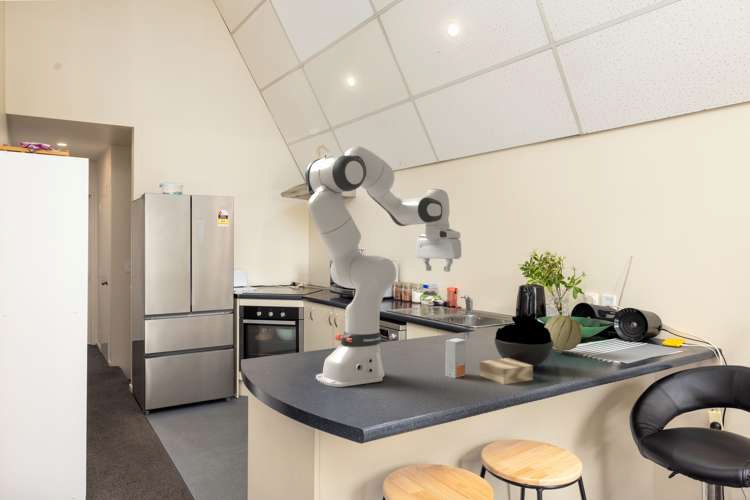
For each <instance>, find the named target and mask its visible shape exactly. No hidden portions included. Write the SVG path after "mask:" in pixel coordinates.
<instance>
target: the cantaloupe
mask: <svg viewBox="0 0 750 500" xmlns="http://www.w3.org/2000/svg"><path fill="white" fill-rule="evenodd" d="M544 327H545V328H547V329H548V330H549V332H550V334H551V340H553V347H552V348H553V349H555V350H557V351H571V350H573V349H575V348H577V347H578V345H579V344H580V343H581V340H582V335H583V334H582V333H583V331H582V328H581V325H580V324H579V322H578V321H577V320H576V319H574V318H573V317H571V314H570V313H568V314H567V315H564V314H557V315H554V316H552V317H550V318H549V320H547V322H546V323H545V325H544Z"/></svg>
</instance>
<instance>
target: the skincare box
mask: <svg viewBox="0 0 750 500" xmlns="http://www.w3.org/2000/svg"><path fill="white" fill-rule="evenodd" d="M466 345H467V341H466V339H463V338H458V337H457V338H456V337H455V338H451V339H446V340H445V353H444V355H445V362H444V363H445V365H444V367H445V368H444V372H445V373H444V374H445V377H447V378H453V379H456V378H460V377H463V376H466V370H467V368H466V361H467V360H466V358H467V357H466V356H467V355H466V351H467V349H466V348H467V347H466Z"/></svg>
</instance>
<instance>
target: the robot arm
mask: <svg viewBox="0 0 750 500" xmlns="http://www.w3.org/2000/svg"><path fill="white" fill-rule="evenodd" d="M304 177H305V183H306V185H307V190H308V193H309V195H311V197H310V198H309V199H308V202H307V206H308V210H309V214H310V216H311V218H312V221H313V223H314V225H315V227H316V228H317V231H318V232H319V234H320V237H321V238H322V240H323V242H324V243H325V245H326V248H328V251H329V254H330V256H331V260H332V261H331V262H332V263H331V266H330V270H329V274H330V278H331V280H332V282H334V284H337V285H338V286H340V287H342V288H343V287H344V288H347V289H355V293H354V296H353V299H352V300H351V302H350V303H348V305H347V306H346V307H345V316H344V317H345V321H344V322H345V326H344V327H345V328H344V329H345V331H344V332H343V334H339V333H335V335H334V340H335V341H339V342H340V345H338V347H337V348H336V349H334V350H333V351H332V353H330V354H329V355H328V356H326V357H325V359H324V363H323V366H322V367H323V369H322V373H317V374H315V380H316V379H317V380H318V381H317V380H316V381H317V382H319V381H320V382H319V383H321V382H322V383H321V384H323V383H324V384H323V385H326V386H330V387H334V388H344V387H350V386H357V385H363V384H371V383H378V382H382V381H383V378H384V377H385V372H384V368H383V367H384V366H383V362H382V358H381V357H382V355H381V349H380V348H381V342H382V339H381V338H382V336H381V335H382V334H381V333H382V332H381V331H380V318H381V317H380V314H381V305H382V303H383V302H382V301H383V299H384V297H385V294H386V292H387V291H388V290H389V289H390V288H391V287H392V286H393V285H394V283H395V281H396V278H397V268H396V266H395V264H394V262H393V260H391V259H390V258H386V257H383V256H379V255H364V254H362V253H361V251H360V249H359V244H360V242H361V239H362V235H361V232H360V230H359V228H358V226H357V224H356V222H355V220H354V218H353V217H352V216H351V214H350V212H349V210H348V208H347V207H346V205H345V203H344V200H343V193H345V192H351V191H355V190H356V189H358V188H360V187H362V188H363V189H364V190H365V191H366V192H367V195H368V196H370V198H371V199H373V201H374V202H375V203H377V204H378V205H379V206H380V207H381V208H382V209H384V210H385V212H386V213H388V216H390V218H391V219H392V221H393V222H394V223H395V224H396V225H397V226H400V227H406V226H411V225H412V226H413V225H425V234H423V233H422V234H420V235H419V236H418V237H417V241H416V246H415V247H416V248H415V256H416V257H415V258H417V259H422V262H423V264H424V267H425V268H424V270H425V271H426V272H430V271H432V265H431V264H430V262H431V261H430V259H431V260H432V259H438V260H440V259H441V260H442V259H443V260H445V263H446V265H445V266H443V271H444V272H445V273H447V272H450V271H451V266H452V265H453V262H454V261H453V260H459V259H460V258H461V257H462V241H461V239H460V238H461V232H460V231H457V230H454V229H452V228H450V222H449V218H450V217H449V216H450V199H449V195H448V193H447V191H445V190H442V189H437V188H431V189H428V190H427V192H426V193H424V194H423V195H421V196H419V197H418V196H417V197H412V198H400V197H397V196H396V195H394V194H393V192H391V191H390V190H391V189H392V187H393V186H394V183H395V171H394V170H393V168H392V166H390V165H389V164H388V162H386V161H385V160H383V159H382V158H381V157H379V155H377V154H376V153H374V152H372V151H371V150H369V149H367V148H365V147H363V146H360V145H355V146H354V145H353V146H352V147H350V148H349V149H347V150H346V151H345V153H344V155H341V156H340V155H338V156H337V155H336V156H333V155H331V156H327V157H323V158H318V159H315V160H313V161H312V162H310V163H309V164H308V165H307V167H306V169H305V172H304Z"/></svg>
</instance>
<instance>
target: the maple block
mask: <svg viewBox="0 0 750 500" xmlns="http://www.w3.org/2000/svg"><path fill="white" fill-rule="evenodd" d="M479 376H481V377H482V378H486V379H489V380H490V381H494V382H497V383H499V384H500V385H501V384H502V385H507V384H514V383H521V382H527V381H528V382H529V381H533V380H534V367H533V365H530V364H527V363H523V362H520V361H517V360H513V359H510V358H498V359H497V358H496V359H489V360H481V361H479Z"/></svg>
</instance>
